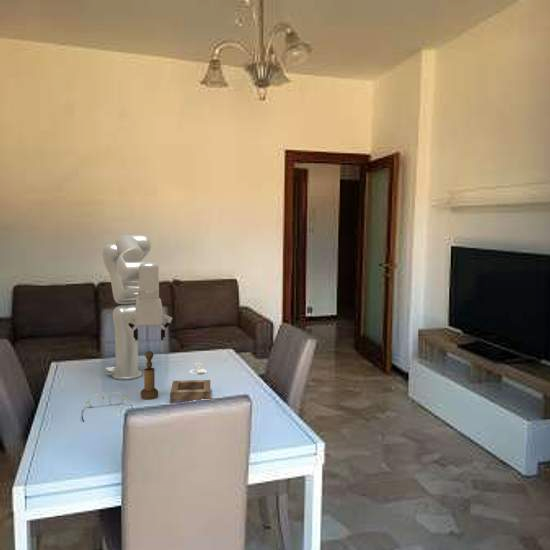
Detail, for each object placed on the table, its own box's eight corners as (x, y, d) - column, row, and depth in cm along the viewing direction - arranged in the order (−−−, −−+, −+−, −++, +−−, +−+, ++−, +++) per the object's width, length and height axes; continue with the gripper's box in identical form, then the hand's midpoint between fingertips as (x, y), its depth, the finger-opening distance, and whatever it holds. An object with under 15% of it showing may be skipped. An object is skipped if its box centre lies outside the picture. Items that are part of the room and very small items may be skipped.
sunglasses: (130, 404, 194) (129, 391, 194) (133, 418, 180) (133, 404, 180) (81, 408, 189) (81, 395, 188) (81, 423, 174) (81, 409, 174)
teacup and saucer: (205, 375, 233) (205, 366, 233) (187, 375, 233) (187, 366, 233) (208, 370, 242) (208, 361, 241) (191, 369, 242) (191, 361, 242)
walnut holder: (170, 402, 195) (170, 392, 195) (173, 390, 210) (173, 380, 209) (210, 401, 197) (210, 391, 196) (210, 389, 212) (210, 379, 211)
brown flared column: (142, 400, 197) (142, 354, 195) (138, 395, 203) (138, 350, 201) (160, 398, 200) (159, 352, 198) (155, 393, 206) (155, 348, 204)
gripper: (124, 296, 193) (124, 342, 194) (171, 296, 195) (171, 341, 196) (127, 294, 200) (127, 338, 201) (172, 294, 202) (173, 337, 204)
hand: (149, 339), depth 199 cm, fingers open, 9 cm apart
